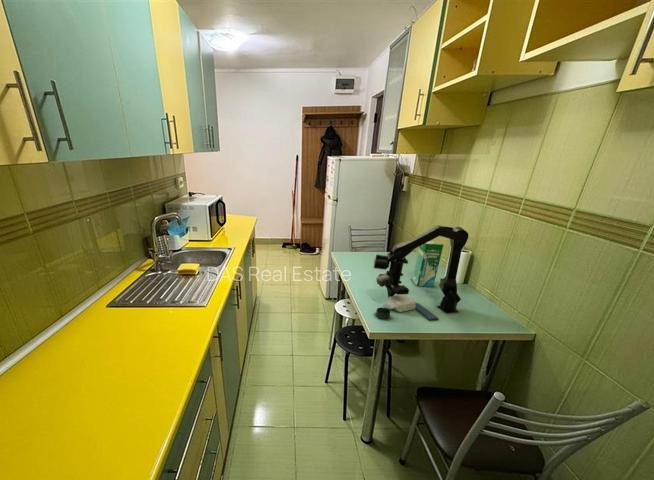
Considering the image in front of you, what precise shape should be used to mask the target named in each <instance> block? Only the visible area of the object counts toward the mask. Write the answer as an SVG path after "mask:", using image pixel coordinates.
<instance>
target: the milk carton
mask: <svg viewBox="0 0 654 480" xmlns="http://www.w3.org/2000/svg"><path fill="white" fill-rule="evenodd" d="M443 249H444V244H443V243H435V241H432V240H431V241H429V242H427V243H425V244H423V245H421V246H419V247H418V251H417V256H416V259H415V265H414V270H413V273H412V274H413V275H412V279H411V280H412V282H413V283H414V285H415V286H416V287H428V288H429V287H430V288H433V287H434V285H435V282H436V278H437V274H438V269H439V265H440V261H441V257H442V253H443Z"/></svg>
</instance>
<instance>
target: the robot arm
mask: <svg viewBox="0 0 654 480" xmlns="http://www.w3.org/2000/svg"><path fill="white" fill-rule="evenodd" d="M438 237H443V238H446V239H449V242H450V251H449V256H448V262H447V266H446V272H445V276H444V277H443V278H440V279H439V284H438V286H439V289H440V290H441V292H442V295H443V296H442V299H441V301H440V305H437V308H439V309H440V310H441V311H443V312H444V313H446V314H450V313H458V312H459V310H457V306H458V303H459V302H460V301H461V300H462V299H461V296H460V295H459V294H458V284H457V277H458V276H457V275H458V270H459V265H460V261H461V255H462V251H463V249H464V247H465V246H466V244H467V242H468V240H469V237H470V236H469V232H468V231H466V229H464V227H461V226H455V227H451V226H443V225H435V226H434V227H432V228H430V229H429V230H427V231H425V232H423V233H421V234H419V235H418V236H415V237H413V238H412V239H410V240H407V241H402V242H399V243H396V244H394V245H393V247H392V249H391V250H390V251H389V252H388V253H387V255H384V254H383V255H382V254H378V253H377V254H376V255H375V258H374V261H373V269H377V270H385V271H386V272H385V273H379V275H377V277H376V278H375V279H376V284H377V285H378V286H379V287H381V288H384V287H385V288H386V291H387V292H386V293H387V297H388V298H389V297H390V296H396V295H402V294H405V295H409V293H410V289H409V287H407V286H406V285H401V284H402V281H401V278H402V277H403V276H404V273H403V267H404V264H405V265H408V264H409V261H408V259H407V258H406V257H407V256H409V255H410V254H411V253H412V252H413V251H414V250H415V249H417V248H419V246H421V245H423V244H425V243H427V242H429V241H432V240H434V239H437V238H438ZM388 268H389V269H388ZM387 269H388V270H387ZM388 298H387V299H388Z"/></svg>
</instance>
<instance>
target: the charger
mask: <svg viewBox="0 0 654 480" xmlns="http://www.w3.org/2000/svg"><path fill="white" fill-rule="evenodd" d="M416 303H417V301H416V300H415V299H414V298H412V297H410V296H408V294H401V295H397V294H395V295H394V296H390V297H389V298H387V301H385V302H383V304H382V306H384V308H387V309H389V310H391V309H392V310H395V311H396V312H398V313H402V312H407V311H411V310H415V307H416Z"/></svg>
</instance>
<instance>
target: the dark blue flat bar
mask: <svg viewBox="0 0 654 480" xmlns="http://www.w3.org/2000/svg"><path fill="white" fill-rule="evenodd" d="M414 310H415V311H417V313H419V314H420V315H422V316H423V317H424V318H426V320H428V321H438V320H439V317H437V316H436V315H435V314H433V313H432V312H431V311H429V310H428V309H427V308H425V307H423V305H421V304H420V303H418V302H416V307H415V309H414Z"/></svg>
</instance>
